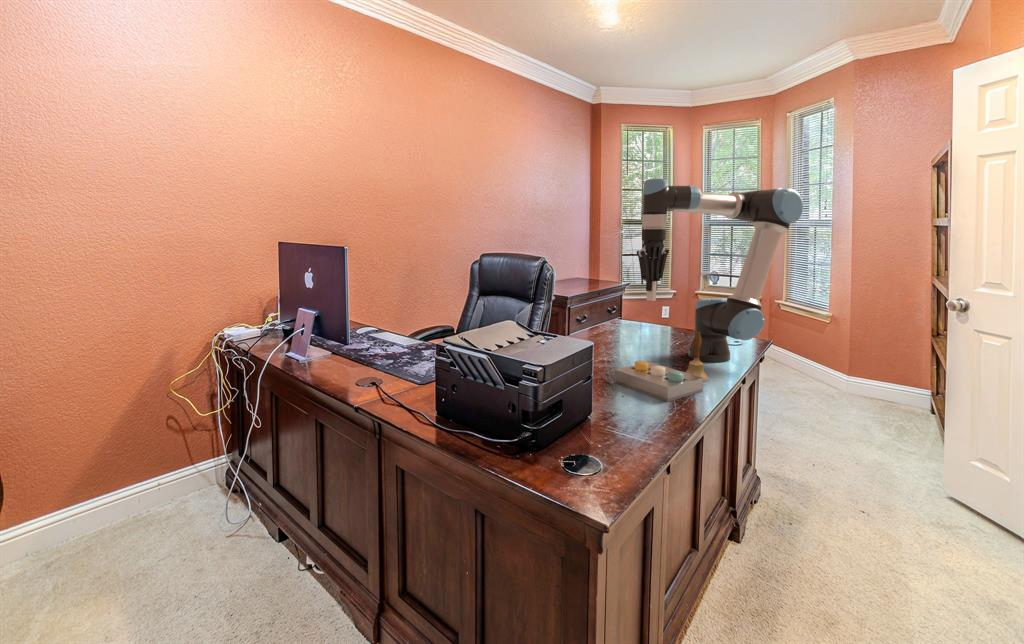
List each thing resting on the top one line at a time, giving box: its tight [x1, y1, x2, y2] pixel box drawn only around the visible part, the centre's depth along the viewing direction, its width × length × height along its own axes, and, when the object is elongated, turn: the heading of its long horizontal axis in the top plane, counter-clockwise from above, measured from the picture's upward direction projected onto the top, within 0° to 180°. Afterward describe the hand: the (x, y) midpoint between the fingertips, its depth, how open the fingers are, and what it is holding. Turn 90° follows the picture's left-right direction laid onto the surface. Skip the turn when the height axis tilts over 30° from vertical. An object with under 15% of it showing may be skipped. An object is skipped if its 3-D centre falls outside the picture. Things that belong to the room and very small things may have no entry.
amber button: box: [633, 360, 649, 372], centre depth 168 cm, size 5×5×4 cm
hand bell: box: [685, 332, 709, 382], centre depth 170 cm, size 8×8×16 cm
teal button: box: [668, 370, 684, 383], centre depth 156 cm, size 5×5×4 cm
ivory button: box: [650, 365, 666, 377], centre depth 162 cm, size 5×5×4 cm
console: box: [614, 361, 704, 403], centre depth 162 cm, size 16×22×4 cm
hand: (651, 300), depth 169 cm, fingers closed
